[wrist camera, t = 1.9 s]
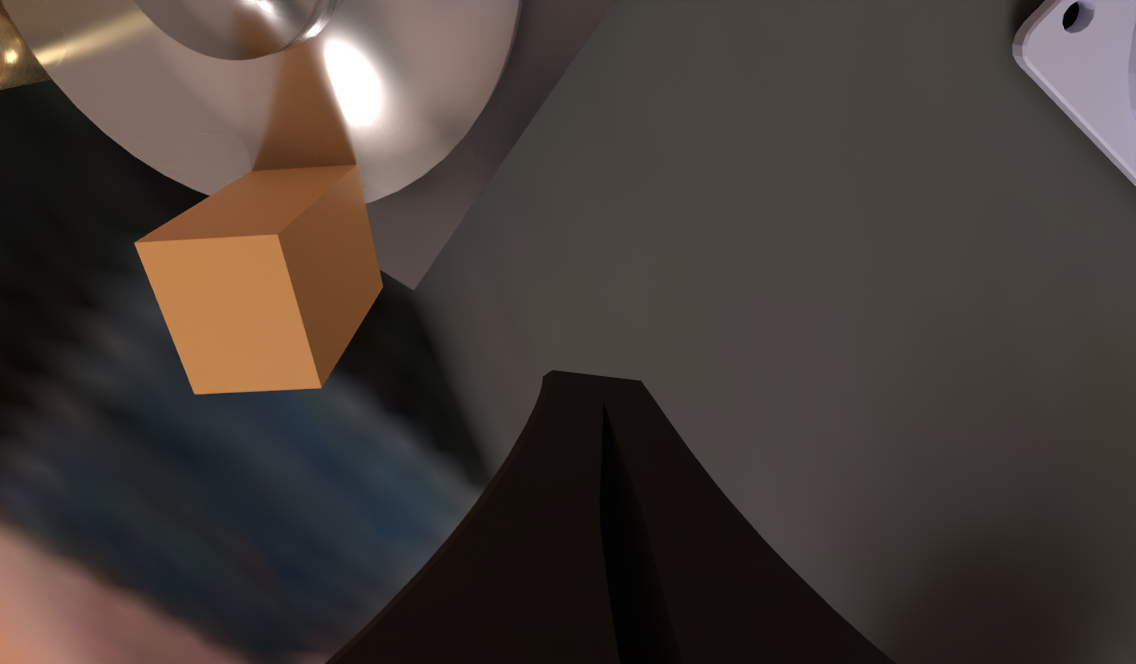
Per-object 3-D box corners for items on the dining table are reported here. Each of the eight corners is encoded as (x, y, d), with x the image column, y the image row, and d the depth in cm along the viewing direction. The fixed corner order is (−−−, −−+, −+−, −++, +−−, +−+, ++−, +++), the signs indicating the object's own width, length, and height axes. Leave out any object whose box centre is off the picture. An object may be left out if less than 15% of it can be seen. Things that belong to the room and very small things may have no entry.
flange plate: (-88, -363, 8) (-625, -636, 4) (496, -417, 8) (429, -753, 4) (159, 276, 12) (-15, 405, 8) (549, 255, 12) (540, 377, 8)
